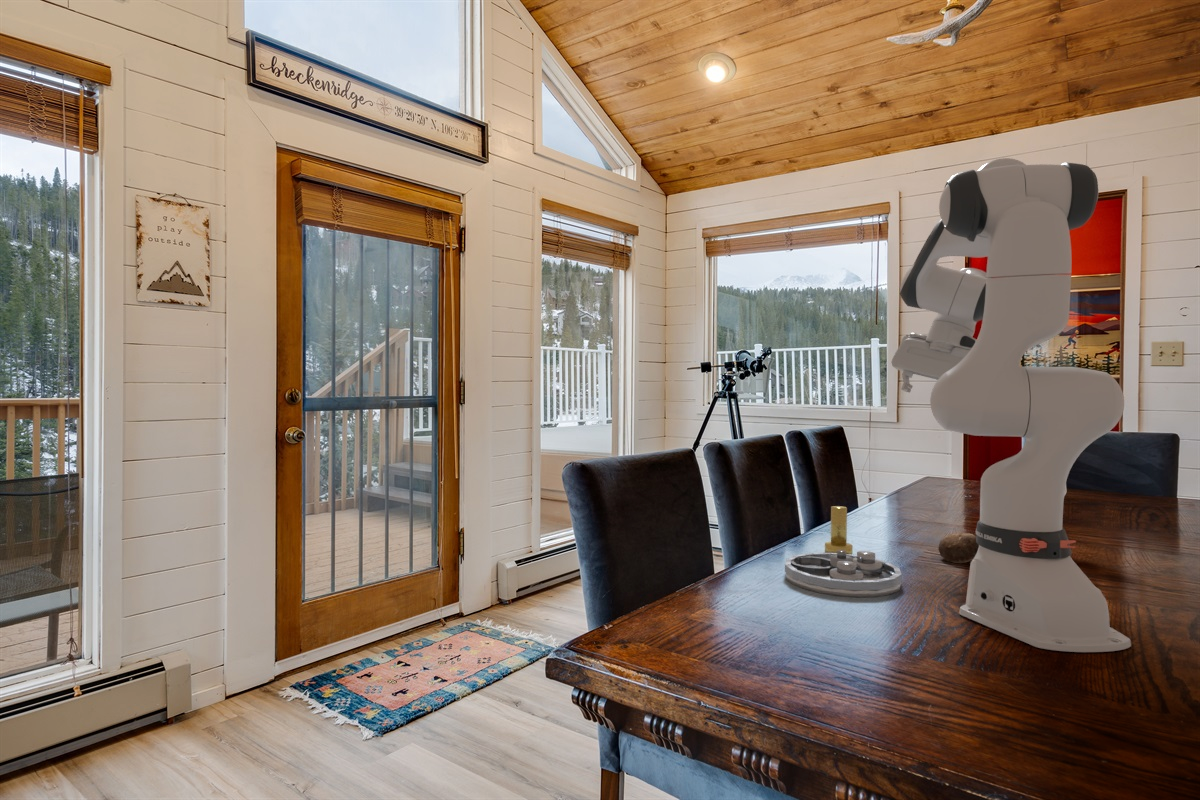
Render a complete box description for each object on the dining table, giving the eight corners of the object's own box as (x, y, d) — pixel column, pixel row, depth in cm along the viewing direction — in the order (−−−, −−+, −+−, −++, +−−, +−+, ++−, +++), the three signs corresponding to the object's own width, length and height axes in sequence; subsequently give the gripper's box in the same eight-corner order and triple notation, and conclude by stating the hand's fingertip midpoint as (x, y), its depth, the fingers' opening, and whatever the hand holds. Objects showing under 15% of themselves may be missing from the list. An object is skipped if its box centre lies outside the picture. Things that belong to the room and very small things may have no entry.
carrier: (922, 596, 117) (923, 564, 116) (808, 598, 115) (808, 566, 115) (869, 564, 137) (869, 538, 136) (771, 566, 135) (771, 539, 135)
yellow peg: (856, 555, 144) (857, 509, 144) (831, 556, 143) (831, 510, 143) (845, 549, 149) (846, 505, 149) (820, 549, 149) (821, 505, 149)
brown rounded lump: (977, 541, 143) (966, 519, 142) (994, 564, 136) (982, 542, 134) (940, 556, 146) (928, 535, 144) (954, 580, 138) (942, 558, 137)
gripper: (899, 327, 161) (877, 381, 161) (988, 344, 145) (962, 404, 145) (911, 335, 165) (889, 388, 165) (998, 353, 149) (973, 412, 149)
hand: (924, 396), depth 155 cm, fingers open, 8 cm apart
